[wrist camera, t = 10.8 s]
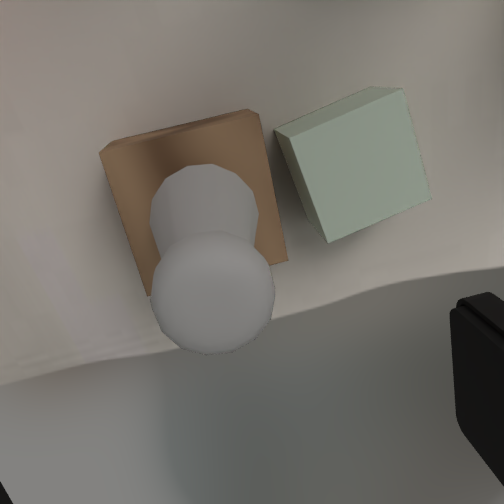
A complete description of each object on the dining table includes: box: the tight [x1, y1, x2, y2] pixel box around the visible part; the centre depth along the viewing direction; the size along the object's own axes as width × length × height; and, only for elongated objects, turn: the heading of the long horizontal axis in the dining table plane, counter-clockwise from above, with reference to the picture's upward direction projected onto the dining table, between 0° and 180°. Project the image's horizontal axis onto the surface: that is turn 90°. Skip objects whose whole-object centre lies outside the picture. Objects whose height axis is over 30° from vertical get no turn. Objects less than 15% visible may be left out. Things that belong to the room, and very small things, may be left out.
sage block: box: [274, 87, 432, 244], centre depth 30 cm, size 7×7×5 cm
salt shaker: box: [149, 164, 275, 355], centre depth 21 cm, size 6×6×13 cm
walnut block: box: [99, 109, 288, 296], centre depth 30 cm, size 9×9×5 cm
